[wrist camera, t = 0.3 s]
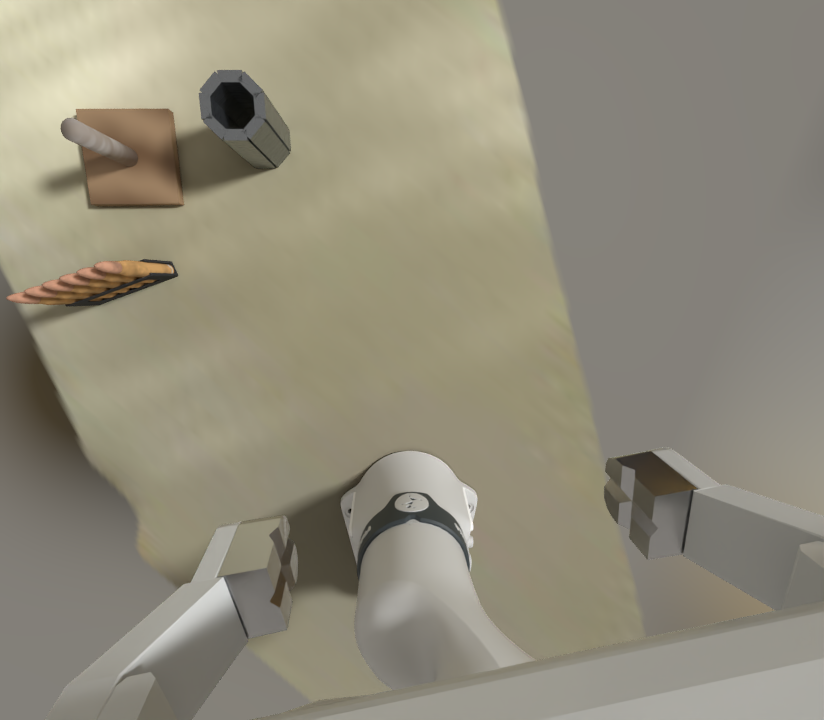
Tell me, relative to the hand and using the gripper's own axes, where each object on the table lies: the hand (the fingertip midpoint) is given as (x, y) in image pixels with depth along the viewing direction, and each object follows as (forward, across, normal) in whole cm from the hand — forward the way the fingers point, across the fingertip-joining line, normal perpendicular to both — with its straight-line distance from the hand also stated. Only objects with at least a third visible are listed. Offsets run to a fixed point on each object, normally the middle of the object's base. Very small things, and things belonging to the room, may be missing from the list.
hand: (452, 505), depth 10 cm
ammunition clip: (+44, -30, +3) cm, 54 cm away
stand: (+46, -26, +16) cm, 56 cm away
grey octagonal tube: (+46, -11, +17) cm, 50 cm away
